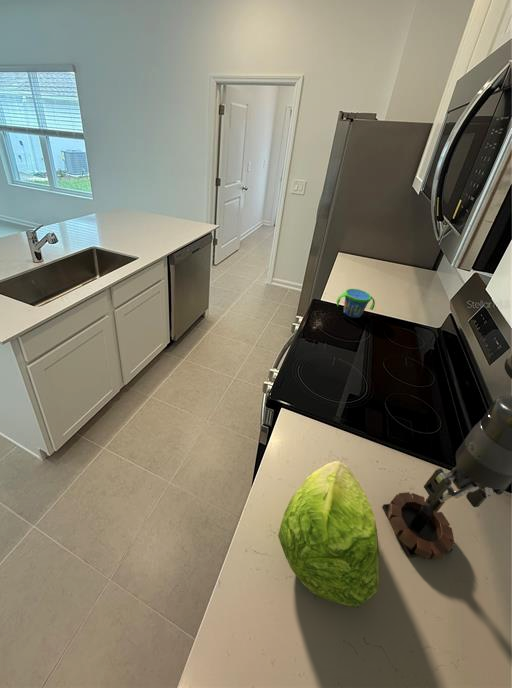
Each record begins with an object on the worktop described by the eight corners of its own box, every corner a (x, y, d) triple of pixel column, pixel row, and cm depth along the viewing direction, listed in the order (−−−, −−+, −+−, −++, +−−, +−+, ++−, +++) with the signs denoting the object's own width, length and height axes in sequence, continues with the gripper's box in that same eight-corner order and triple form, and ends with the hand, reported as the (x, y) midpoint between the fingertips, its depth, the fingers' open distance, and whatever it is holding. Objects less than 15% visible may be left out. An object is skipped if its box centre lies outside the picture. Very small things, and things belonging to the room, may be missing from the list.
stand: (419, 503, 67) (432, 484, 64) (450, 552, 60) (467, 534, 56) (381, 507, 66) (392, 488, 62) (408, 557, 58) (422, 539, 55)
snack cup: (368, 310, 140) (374, 291, 135) (372, 323, 131) (380, 302, 126) (332, 305, 142) (338, 286, 137) (335, 317, 133) (340, 297, 128)
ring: (423, 495, 68) (427, 490, 67) (462, 555, 58) (467, 550, 57) (377, 499, 66) (380, 494, 65) (410, 562, 57) (413, 557, 56)
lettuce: (378, 505, 67) (388, 454, 62) (374, 644, 47) (388, 584, 42) (300, 477, 74) (303, 429, 70) (268, 586, 54) (269, 529, 49)
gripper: (472, 477, 47) (431, 529, 55) (552, 470, 49) (501, 522, 57) (438, 435, 53) (405, 487, 62) (509, 429, 55) (469, 481, 63)
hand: (451, 503), depth 59 cm, fingers open, 8 cm apart
